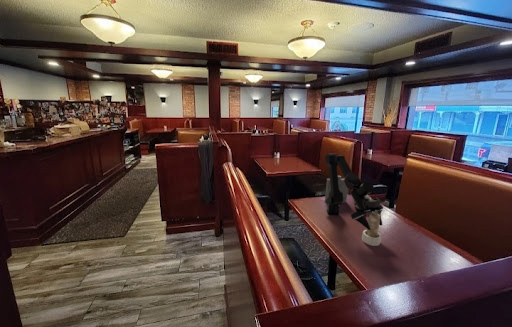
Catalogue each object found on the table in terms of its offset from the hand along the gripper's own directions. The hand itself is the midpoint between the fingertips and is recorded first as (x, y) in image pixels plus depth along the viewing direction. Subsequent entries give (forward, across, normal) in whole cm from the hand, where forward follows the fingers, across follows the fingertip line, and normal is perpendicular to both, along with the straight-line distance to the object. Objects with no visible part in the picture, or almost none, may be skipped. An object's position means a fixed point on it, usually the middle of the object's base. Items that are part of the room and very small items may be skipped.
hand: (375, 227), depth 114 cm
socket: (+5, 0, +7) cm, 9 cm away
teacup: (-15, +30, +27) cm, 43 cm away
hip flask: (-26, +20, +38) cm, 50 cm away
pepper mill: (+4, 0, +6) cm, 8 cm away
